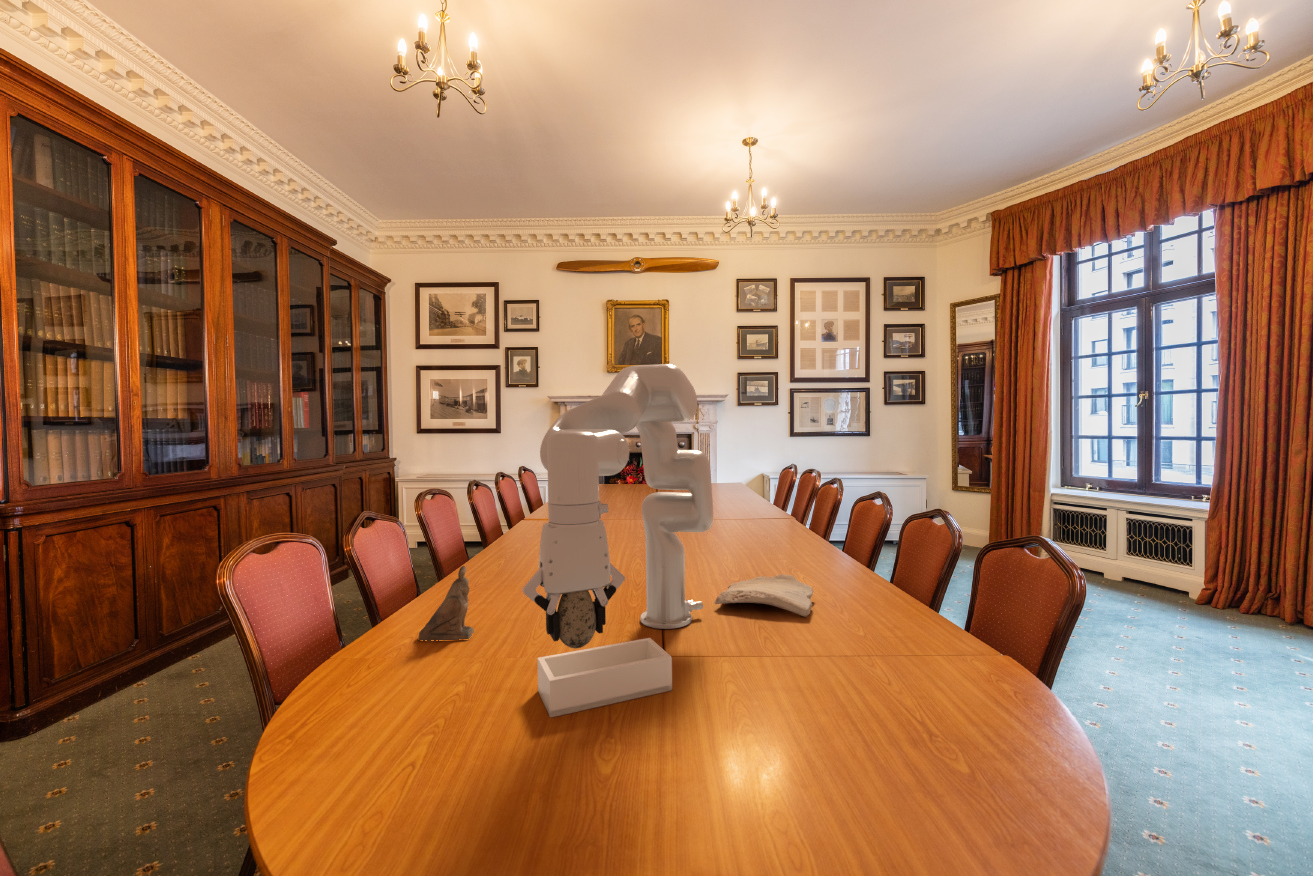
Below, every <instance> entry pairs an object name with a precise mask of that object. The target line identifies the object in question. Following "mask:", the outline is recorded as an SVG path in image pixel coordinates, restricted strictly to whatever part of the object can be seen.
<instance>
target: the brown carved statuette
mask: <svg viewBox="0 0 1313 876" xmlns="http://www.w3.org/2000/svg"><path fill="white" fill-rule="evenodd" d="M466 570H467V568H466V566H465V565H462V566H461V567H460V568H459V571H458V574H457V575H458V576H457V577H458V578H456V579H455V580H454V581H453V582H452V584H451V585H450V587H449V589H448V592H447V593H446V596H445V598H444V599H443V601H442V602H441V603H440V605H439V606H438V607H437V609H436V611H435V612H434V613H433V614H432V615H431V617H430V619H429V620H428V622H427V623H425V625H424V626H423V627H422V629H420V631H419V633H418V639H419V640H423V641H425V640H427V641H431V640H434V641H435V642H436V640H438V641H439V640H459V639H469V638H470V637H471V636H472V634H473V633H474V634H475V629H474V628H473V627H472V626H467V625H466V624H465V623H466V621H465V620H466V616H467V612H468V610H469V609H468V608H469V601H470V600H469V592H470V586H469V582H470V581H469V579H468V578H467V577H466V576H465V575H466V572H467V571H466ZM472 637H473V636H472ZM472 637H471V638H472ZM471 638H470V639H471Z"/></svg>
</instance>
